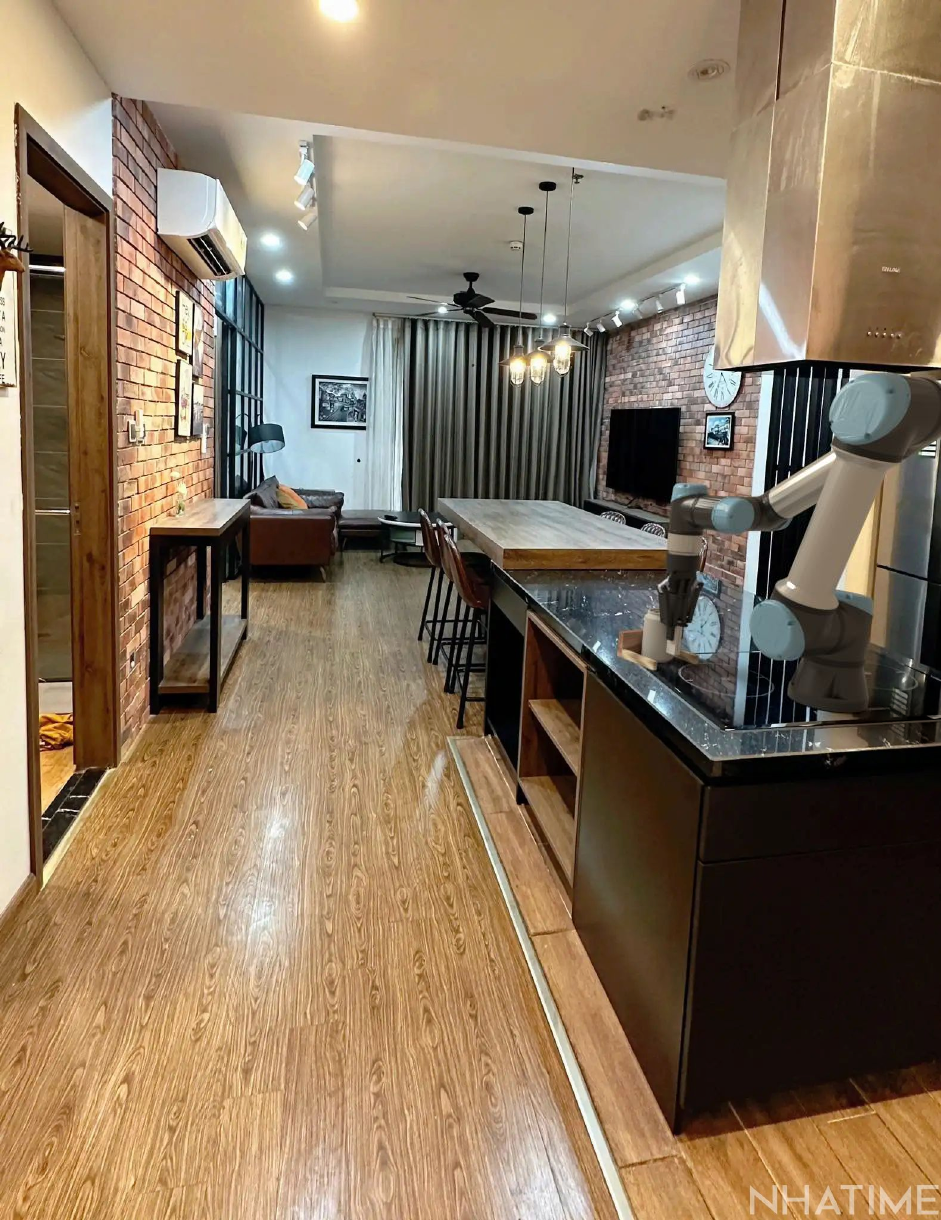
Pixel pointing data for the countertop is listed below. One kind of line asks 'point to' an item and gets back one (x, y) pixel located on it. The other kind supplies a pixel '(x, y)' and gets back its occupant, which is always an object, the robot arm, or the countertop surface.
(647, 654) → the can
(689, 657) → the wooden bracket
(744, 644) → the countertop surface
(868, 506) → the robot arm
